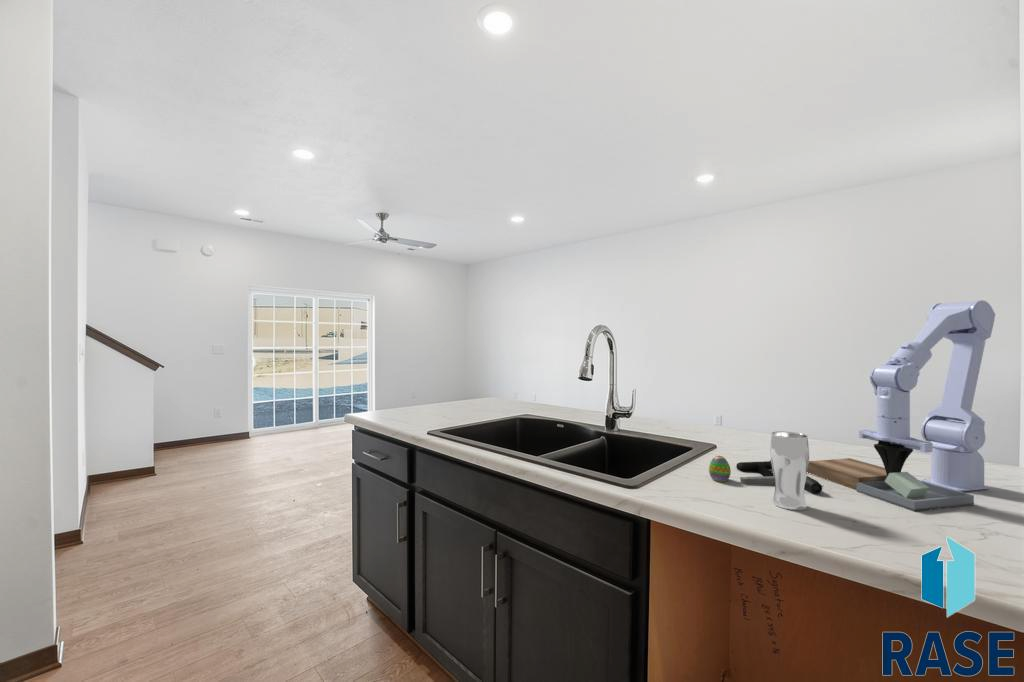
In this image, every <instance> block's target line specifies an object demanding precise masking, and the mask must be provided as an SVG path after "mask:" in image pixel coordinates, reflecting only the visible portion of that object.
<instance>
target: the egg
mask: <svg viewBox="0 0 1024 682" xmlns="http://www.w3.org/2000/svg"><path fill="white" fill-rule="evenodd" d="M708 465H709V466H708V472H709V476H710V477H711V479H712V480H713V481H716V482H721V483H725V482H727V481H728V480H730V477H731V466H730V464H729V462H728V460H727V459H726V458H725V457H724V456H721V455H716V456H714V457H713V458H712V459H711V461H710V462H709V464H708Z"/></svg>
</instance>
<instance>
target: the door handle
mask: <svg viewBox="0 0 1024 682" xmlns="http://www.w3.org/2000/svg"><path fill="white" fill-rule="evenodd" d="M735 467H736V469H737V470H738V471H739V472H744V473H747V472H750V473H751V472H753V473H754V472H755V473H757V474H759V475H760V476H740V477H739V478H740V483H741V484H742V485H757V486H775V481H774V475H773V470H772V465H771V459H770V460H768V461H745V462H741V461H740V462H737V463H736V466H735ZM804 490H806V491H807V492H809V493H811V492H812V493H811V494H820V493H821V492H822V491H823V485H822V484H821V483H820V482H819V481H818V480H816V479H814V478H813V477H810V476H809V475H807V477H806V482H805V488H804Z"/></svg>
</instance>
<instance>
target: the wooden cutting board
mask: <svg viewBox="0 0 1024 682" xmlns="http://www.w3.org/2000/svg"><path fill="white" fill-rule="evenodd" d="M809 473H811V474H814V475H817V476H819V477H818V478H820V477H822V478H821V479H823V478H825V479H824V480H826V479H828V480H827V481H829V480H831V481H830V482H832V481H833V482H832V483H835V482H836V484H838V483H839V484H838V485H841V484H842V485H841V486H844V487H847V488H849V489H852V488H853V490H855V489H856V491H857V483H860V482H871V481H883V480H886V478H887V474H886V470H885V467H884V466H879V465H876V464H872V463H868V462H865V461H861V460H858V459H853V458H851V457H849V458H848V457H847V458H835V459H833V458H832V459H823V460H822V459H821V460H820V459H819V460H809V467H808V473H807V474H809ZM811 474H810V475H811ZM814 475H813V476H814ZM817 476H816V477H817Z"/></svg>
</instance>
